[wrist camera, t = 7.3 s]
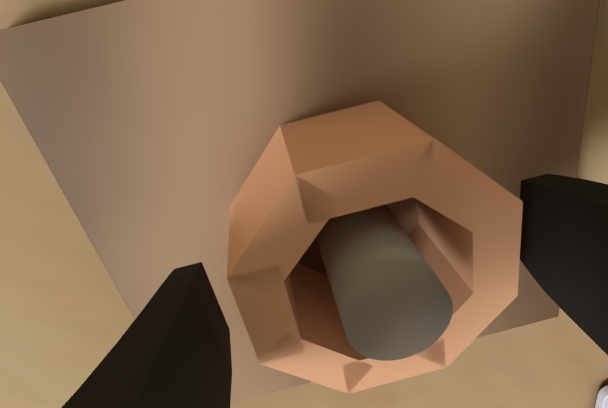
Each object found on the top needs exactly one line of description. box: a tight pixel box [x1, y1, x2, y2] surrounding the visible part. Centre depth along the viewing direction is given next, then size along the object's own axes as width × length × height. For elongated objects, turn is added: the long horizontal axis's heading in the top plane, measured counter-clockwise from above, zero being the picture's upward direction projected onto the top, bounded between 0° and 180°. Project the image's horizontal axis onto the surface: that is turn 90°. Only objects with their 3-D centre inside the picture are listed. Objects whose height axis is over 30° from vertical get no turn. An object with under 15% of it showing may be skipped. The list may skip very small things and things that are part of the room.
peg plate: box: [0, 0, 599, 403], centre depth 9 cm, size 13×12×5 cm
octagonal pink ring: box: [227, 100, 523, 394], centre depth 9 cm, size 6×6×3 cm
